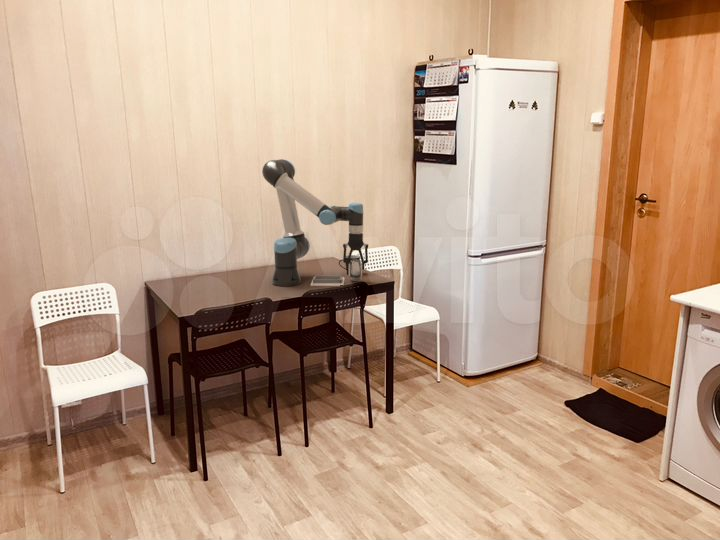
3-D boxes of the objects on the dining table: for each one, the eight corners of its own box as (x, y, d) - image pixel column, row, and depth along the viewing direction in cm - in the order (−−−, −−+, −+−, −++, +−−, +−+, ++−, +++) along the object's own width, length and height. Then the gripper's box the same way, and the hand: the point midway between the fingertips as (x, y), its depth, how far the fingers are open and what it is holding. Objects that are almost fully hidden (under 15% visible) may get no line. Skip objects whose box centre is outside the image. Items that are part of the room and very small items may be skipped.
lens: (349, 280, 304) (349, 261, 302) (350, 277, 310) (350, 259, 307) (360, 280, 304) (360, 261, 302) (360, 277, 310) (361, 259, 307)
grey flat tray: (310, 285, 299) (310, 281, 298) (313, 278, 315) (313, 274, 314) (343, 285, 299) (342, 281, 298) (344, 278, 314) (344, 274, 314)
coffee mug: (360, 272, 328) (360, 255, 326) (359, 275, 320) (359, 258, 318) (340, 271, 329) (340, 254, 327) (338, 275, 321) (338, 258, 319)
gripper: (337, 233, 298) (337, 276, 303) (373, 234, 297) (372, 277, 303) (338, 231, 305) (338, 273, 310) (373, 231, 305) (372, 274, 310)
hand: (355, 275), depth 306 cm, fingers closed on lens, 6 cm apart
